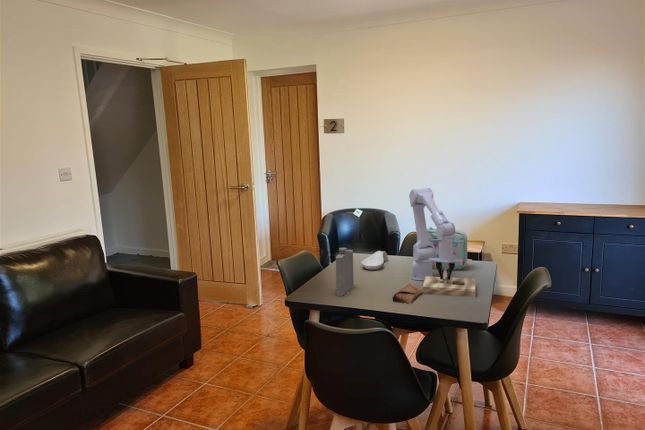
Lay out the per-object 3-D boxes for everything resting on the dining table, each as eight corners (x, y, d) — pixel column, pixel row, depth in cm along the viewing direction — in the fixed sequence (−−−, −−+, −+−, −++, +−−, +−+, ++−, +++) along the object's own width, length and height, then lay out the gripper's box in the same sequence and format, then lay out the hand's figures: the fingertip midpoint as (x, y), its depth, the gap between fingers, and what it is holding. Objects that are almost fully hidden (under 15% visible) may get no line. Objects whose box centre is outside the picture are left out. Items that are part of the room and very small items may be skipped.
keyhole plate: (422, 293, 201) (422, 286, 200) (425, 282, 216) (425, 275, 215) (475, 296, 194) (475, 289, 194) (474, 285, 210) (474, 278, 209)
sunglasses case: (411, 304, 187) (403, 290, 188) (397, 310, 191) (390, 296, 192) (425, 292, 203) (418, 278, 203) (412, 297, 206) (405, 284, 207)
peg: (440, 289, 204) (440, 270, 203) (440, 287, 208) (440, 267, 207) (449, 290, 203) (449, 270, 202) (449, 287, 207) (450, 268, 206)
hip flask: (342, 296, 200) (341, 252, 197) (333, 295, 202) (332, 251, 199) (354, 286, 214) (353, 244, 211) (346, 285, 216) (345, 244, 213)
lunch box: (413, 268, 242) (413, 228, 238) (417, 263, 251) (417, 225, 248) (465, 272, 231) (466, 230, 228) (467, 266, 241) (468, 227, 237)
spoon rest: (378, 272, 236) (378, 259, 235) (357, 270, 241) (357, 257, 240) (394, 262, 256) (394, 249, 255) (374, 260, 262) (374, 247, 261)
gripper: (428, 251, 201) (428, 280, 203) (462, 252, 197) (462, 282, 199) (429, 247, 208) (429, 276, 210) (462, 248, 204) (461, 277, 206)
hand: (445, 278), depth 205 cm, fingers closed on peg, 3 cm apart
